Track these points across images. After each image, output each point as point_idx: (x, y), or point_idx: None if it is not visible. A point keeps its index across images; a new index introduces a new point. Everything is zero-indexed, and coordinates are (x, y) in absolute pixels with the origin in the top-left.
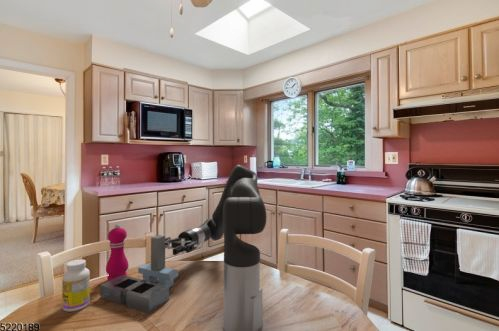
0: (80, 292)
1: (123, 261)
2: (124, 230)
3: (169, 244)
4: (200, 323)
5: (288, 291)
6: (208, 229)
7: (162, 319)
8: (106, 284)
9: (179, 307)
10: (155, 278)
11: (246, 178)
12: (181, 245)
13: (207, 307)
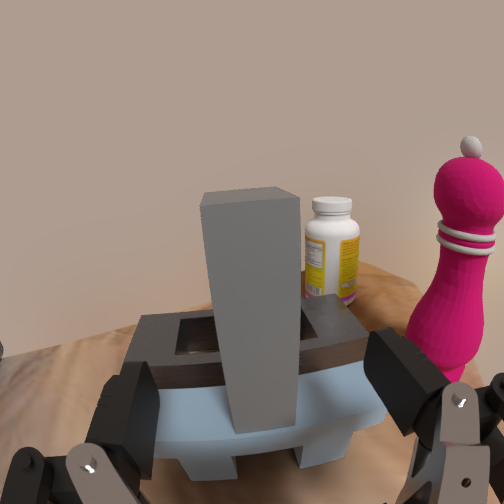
0: (305, 262)
1: (428, 316)
2: (468, 170)
3: (415, 491)
4: (36, 355)
5: None
6: None
7: (110, 344)
8: (325, 299)
9: (89, 381)
10: (296, 447)
11: None
12: (98, 449)
13: (25, 396)
